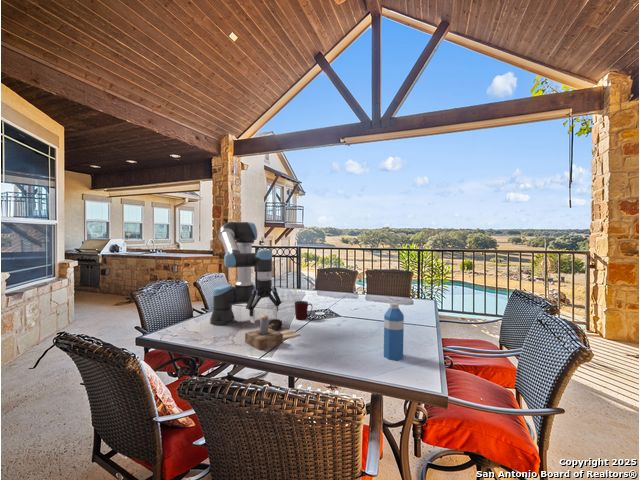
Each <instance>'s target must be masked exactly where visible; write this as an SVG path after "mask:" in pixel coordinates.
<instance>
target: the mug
mask: <svg viewBox="0 0 640 480" xmlns="http://www.w3.org/2000/svg"><path fill="white" fill-rule="evenodd" d="M309 306H311V307H313V304H312V303H309V302H308V301H305V300H296V301H294V313H295V320H298V321H304V320H307V318H309V317H310V316H311V315H312V311H313V308H311V309H310V313H309V314H308V311H309V310H308V308H309Z"/></svg>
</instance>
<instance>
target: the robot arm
mask: <svg viewBox="0 0 640 480" xmlns="http://www.w3.org/2000/svg"><path fill="white" fill-rule="evenodd" d="M217 236H218V239H219V242H221V244H222V246H223V247H222V248H223V249H224V252H225V254H224V256H223V262H224V263H223V264H224V266H225V268H228V269H229V268H232V269H234V268H237V280H236V281H237V282H235V286H233V285H232V284H223V285H222V284H221V285H218V286H216V287H214V288H213V292H212V297H213V299H212V313H211V315H210V318H209V323H210V324H211V325H214V326H222V325H223V326H225V325H230V324H233V323H234V322H235V321H236V320H235V318H236V317H235V315H234V312H233V306H234V305H244V304H245V306H246V307H245V309H246V310H248V311H249V312H248V313H249V317H250V323H252V324H255V323H256V309H255V308H256V306H257V305H258V303H259V301H260V300H261V299H265V298H268V299H270V301H271V302H272V303H273V304H274V305H272V318H274V319H278V312H279V307H280V305H281V304H282V301H281V298H280V296H279V294H278V292H277V291H278V289H277V287H275V286H273V285H272V284H273V280H272V277H273V274H272V272H273V271H272V270H273V269H272V268H273V267H272V266H273V265H272V264H273V253H272V250H271V249H258V250H257V252H252V247H253V245H254V244H255V241H256V240H257V239H258V230H257V226H256V224H255V223H254V222H250V221H245V222H244V221H228V222H226V223H224V224H222V225H221V226H220V228H219V229H218V231H217ZM253 267H254V268H256V267H257V268H256V271H257V272H256V279H257V281H256V286H257V287H256V286H255V285H254V282H253V281H252V268H253ZM272 286H273V287H272Z"/></svg>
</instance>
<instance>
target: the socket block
mask: <svg viewBox="0 0 640 480" xmlns="http://www.w3.org/2000/svg"><path fill="white" fill-rule="evenodd" d="M283 341H284V340H283V334H282V333H280V332H278V331H277V330H276V329H275V330H272V329H270V328H268V335H264V336H262V335H260V329H256V330H253V331H248V332H245V333H244V342H245V344H247V345H249V346H251V347H253V348H255V349H256V350H258V351H262V350H265V349H268V348H272V347H275V346H279V345H282V344H283V343H284V342H283Z"/></svg>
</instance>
